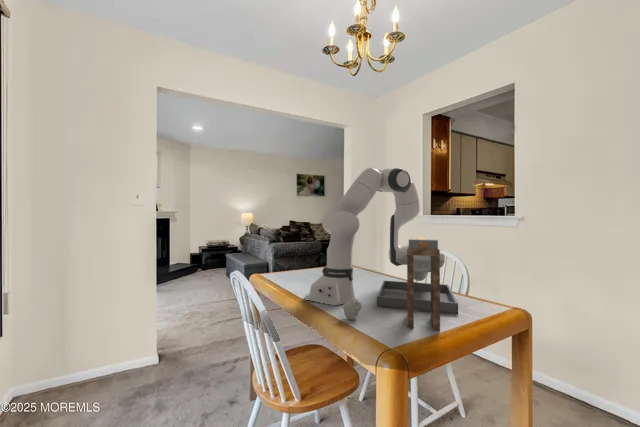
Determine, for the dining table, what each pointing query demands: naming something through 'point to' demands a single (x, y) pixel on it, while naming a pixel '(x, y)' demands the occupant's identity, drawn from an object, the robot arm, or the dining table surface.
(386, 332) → the dining table surface
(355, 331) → the dining table surface
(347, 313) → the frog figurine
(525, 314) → the dining table surface
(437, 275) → the frame
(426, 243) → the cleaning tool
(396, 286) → the tray
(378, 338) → the dining table surface
